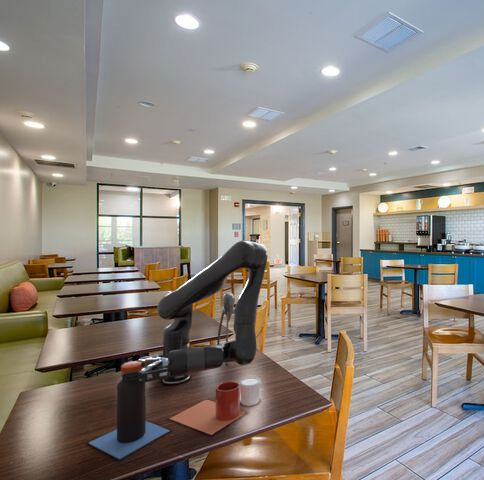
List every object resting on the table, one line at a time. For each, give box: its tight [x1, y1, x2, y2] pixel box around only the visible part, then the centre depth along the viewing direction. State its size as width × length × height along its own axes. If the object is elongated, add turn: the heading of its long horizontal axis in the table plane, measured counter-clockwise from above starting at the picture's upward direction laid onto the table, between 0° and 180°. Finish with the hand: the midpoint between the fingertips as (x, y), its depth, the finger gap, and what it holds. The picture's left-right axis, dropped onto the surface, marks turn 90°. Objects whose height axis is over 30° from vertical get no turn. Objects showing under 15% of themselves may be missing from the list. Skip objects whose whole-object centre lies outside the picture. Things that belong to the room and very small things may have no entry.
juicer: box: [216, 292, 235, 366], centre depth 155 cm, size 10×11×30 cm
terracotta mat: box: [168, 399, 247, 436], centre depth 107 cm, size 18×14×1 cm
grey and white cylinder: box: [239, 377, 262, 407], centre depth 116 cm, size 7×7×7 cm
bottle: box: [116, 360, 147, 443], centre depth 95 cm, size 7×7×20 cm
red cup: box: [215, 380, 241, 421], centre depth 107 cm, size 7×7×9 cm
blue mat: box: [87, 420, 171, 461], centre depth 95 cm, size 14×14×1 cm
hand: (122, 372), depth 94 cm, fingers open, 8 cm apart
